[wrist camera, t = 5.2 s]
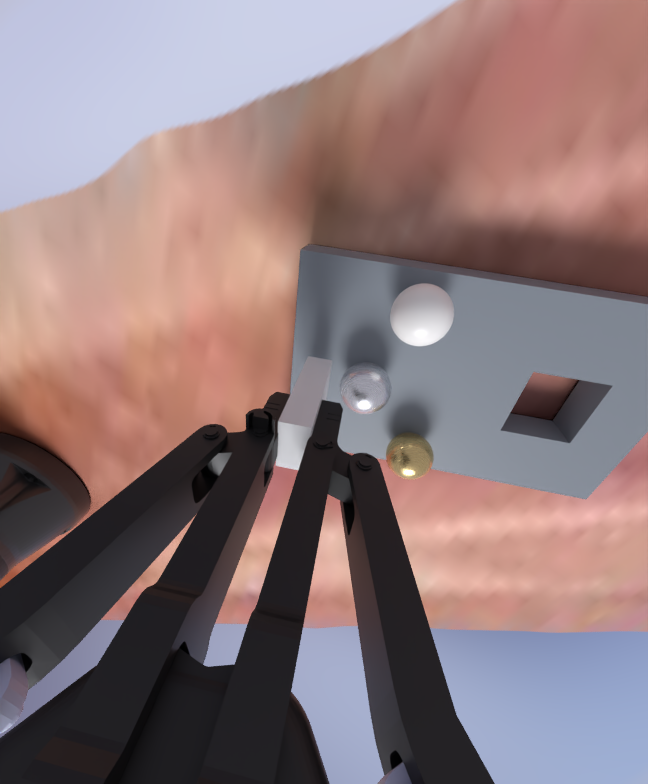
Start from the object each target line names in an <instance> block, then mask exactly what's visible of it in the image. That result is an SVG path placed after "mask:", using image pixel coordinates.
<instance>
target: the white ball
mask: <svg viewBox="0 0 648 784" xmlns="http://www.w3.org/2000/svg"><path fill="white" fill-rule="evenodd" d="M453 319H454V306H453V303H452V300H451V298H450V297H449V295H448V294H447V293H446V292H445V291H444V290H443V289H442V288H440V287H438V286H436V285H433V284H427V283H421V284H416V285H413V286H410V287H408V288H407V289H405V290H404V291H402V292H401V293H400V294H399V295H398V297H397V298H396V299H395V301H394V303H393V305H392V308H391V312H390V322H391V326H392V329H393V331H394V333H395V334H396V335H397V337H398V338H399V339H400V340H402V341H403V342H405V343H407V344H409V345H413V346H427V345H431V344H433V343H435V342H437V341H439V340H440V339H441V338H443V337H444V336H445V335H446V333H447V332H448V331H449V329H450V327H451V325H452V323H453Z"/></svg>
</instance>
